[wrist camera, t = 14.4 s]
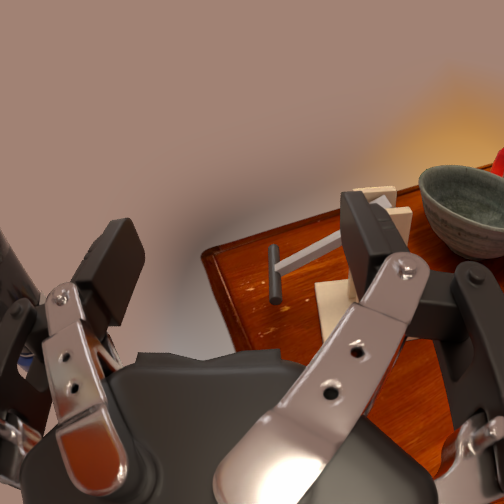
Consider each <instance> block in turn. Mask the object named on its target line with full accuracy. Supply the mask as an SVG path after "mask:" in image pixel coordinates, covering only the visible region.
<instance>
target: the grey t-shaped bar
mask: <svg viewBox="0 0 504 504" xmlns="http://www.w3.org/2000/svg"><path fill="white" fill-rule="evenodd" d="M370 203H377V204H379V205H380V206H382V207H383V208H384V209H387V208H393V207H392V205H391V204H390V202H389V201H388V199H387V198H386V196H385V195H382V196H381V197H379V198H377V199H375V200H373V201H372V202H370ZM370 203H369V204H370ZM341 245H342V242H341V235H340V230H338V231H336V232H335V233H333V234H331V235H329V236H327V237H325V238H324V239H322V240H320V241H318V242H316V243H314V244H312V245H311V246H309V247H307V248H305V249H303V250H301V251H299V252H297V253H296V254H294V255H292V256H290V257H288V258H286V259H284V260H282V261H280V256H279V247H278V246H277V245H276V244H272V245H270V246H269V247H268V258H269V302H270V303H271V304H273V305H279V304H280V303H281V302H282V288H281V277H282V276H284V275H285V274H287V273H289V272H291V271H293V270H295V269H297V268H299V267H301V266H303V265H305V264H307V263H309V262H311V261H313V260H315V259H317V258H319V257H321V256H322V255H324V254H326V253H328V252H330V251H332V250H334V249H336V248H338V247H340V246H341Z"/></svg>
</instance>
